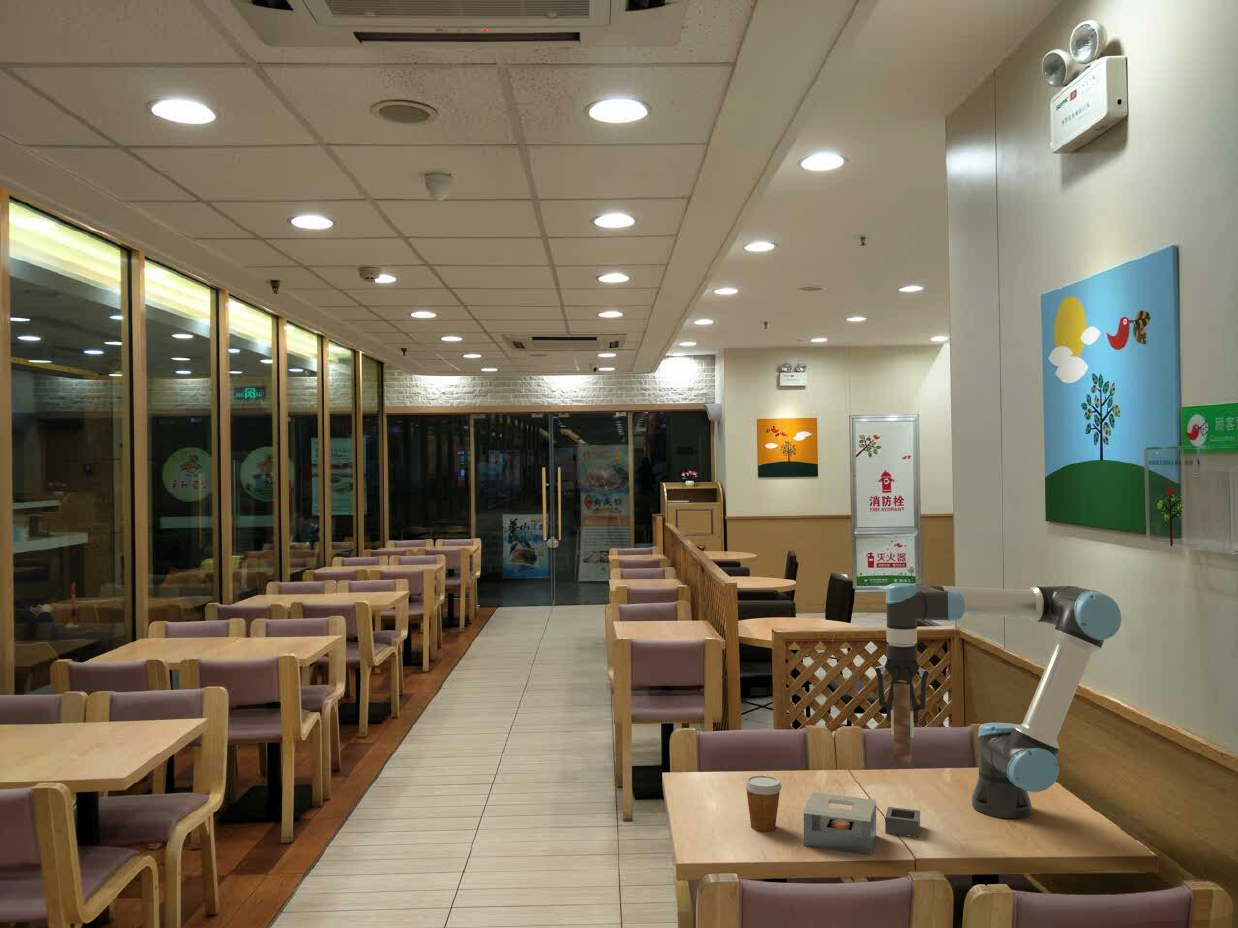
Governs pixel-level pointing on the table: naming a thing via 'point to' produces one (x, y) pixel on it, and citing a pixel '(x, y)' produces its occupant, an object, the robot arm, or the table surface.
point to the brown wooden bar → (902, 722)
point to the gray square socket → (902, 821)
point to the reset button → (840, 824)
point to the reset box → (858, 817)
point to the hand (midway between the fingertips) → (902, 734)
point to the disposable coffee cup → (763, 801)
